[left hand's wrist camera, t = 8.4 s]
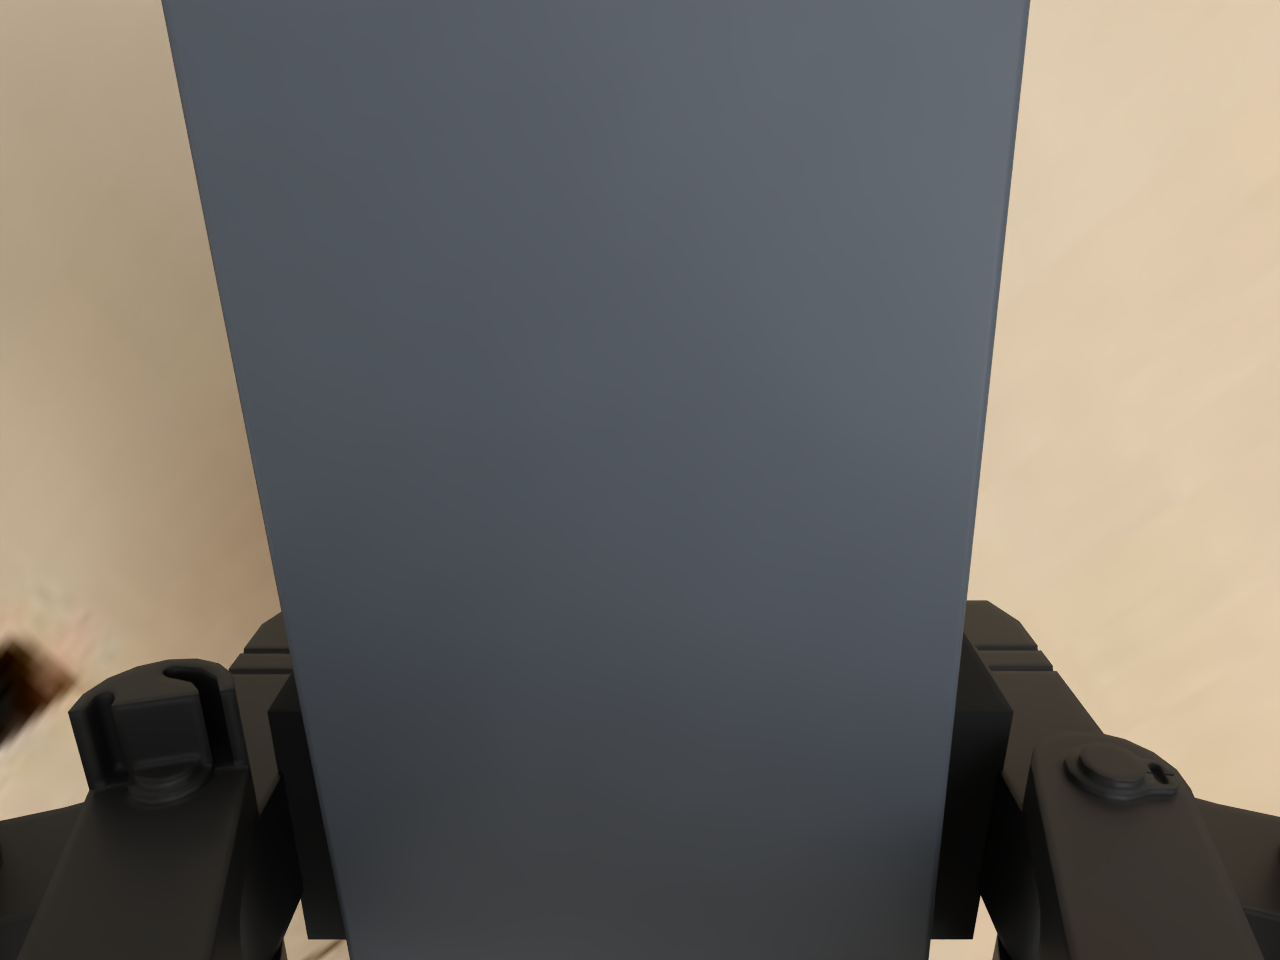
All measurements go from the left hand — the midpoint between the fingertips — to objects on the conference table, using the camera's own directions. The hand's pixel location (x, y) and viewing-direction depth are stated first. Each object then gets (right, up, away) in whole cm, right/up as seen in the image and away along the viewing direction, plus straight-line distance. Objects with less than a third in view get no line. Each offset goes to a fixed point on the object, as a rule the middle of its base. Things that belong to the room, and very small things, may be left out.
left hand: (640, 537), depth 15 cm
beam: (+1, -22, +9) cm, 24 cm away
